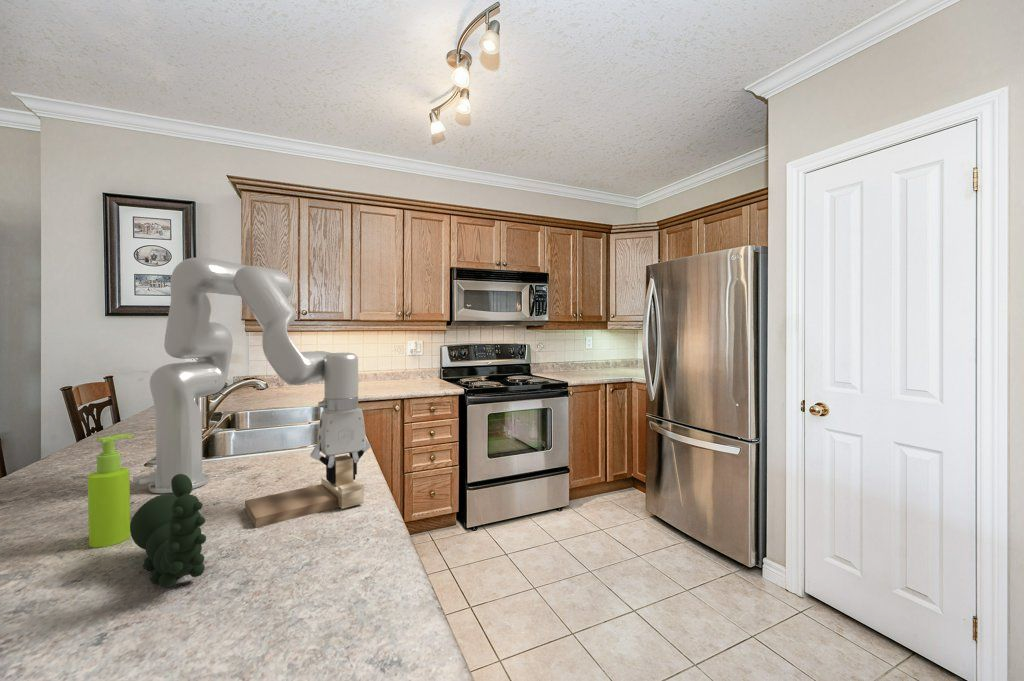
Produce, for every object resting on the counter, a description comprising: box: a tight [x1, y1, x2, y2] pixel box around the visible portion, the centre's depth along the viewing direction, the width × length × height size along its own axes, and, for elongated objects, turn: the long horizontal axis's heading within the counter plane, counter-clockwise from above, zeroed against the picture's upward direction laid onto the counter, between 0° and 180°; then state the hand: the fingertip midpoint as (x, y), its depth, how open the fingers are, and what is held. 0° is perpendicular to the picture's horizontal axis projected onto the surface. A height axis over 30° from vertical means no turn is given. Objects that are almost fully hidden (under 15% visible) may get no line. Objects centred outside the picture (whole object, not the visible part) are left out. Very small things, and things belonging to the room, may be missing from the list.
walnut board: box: [244, 483, 340, 529], centre depth 102 cm, size 22×12×2 cm, turn 130°
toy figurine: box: [130, 474, 207, 588], centre depth 75 cm, size 9×19×25 cm
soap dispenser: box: [87, 433, 136, 549], centre depth 85 cm, size 6×7×20 cm
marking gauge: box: [320, 454, 365, 510], centre depth 106 cm, size 5×14×9 cm, turn 40°
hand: (341, 479), depth 106 cm, fingers closed on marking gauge, 4 cm apart
